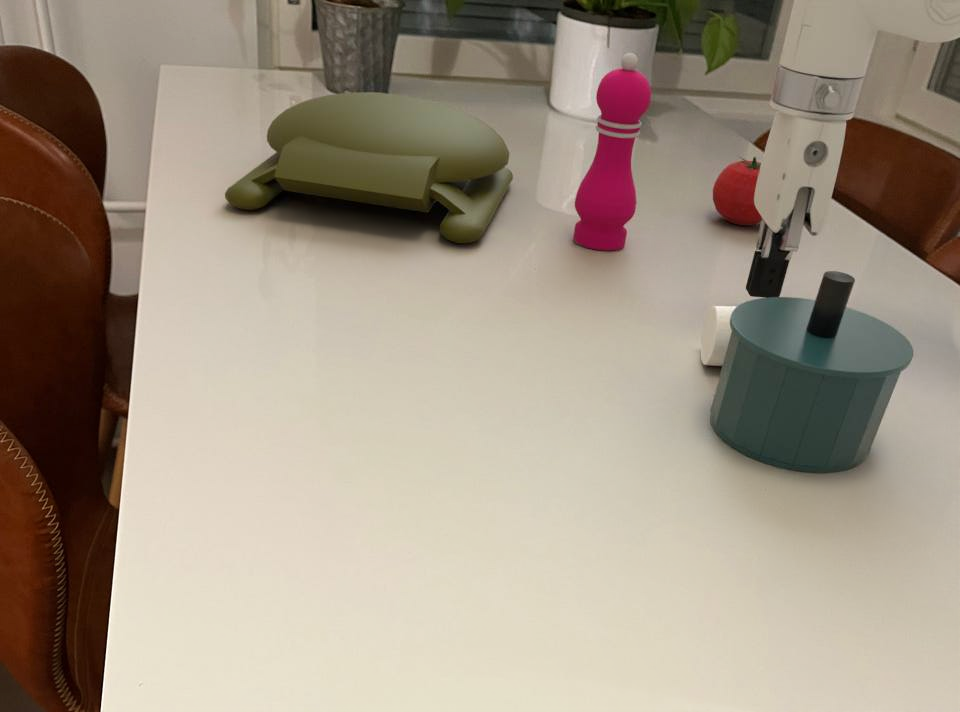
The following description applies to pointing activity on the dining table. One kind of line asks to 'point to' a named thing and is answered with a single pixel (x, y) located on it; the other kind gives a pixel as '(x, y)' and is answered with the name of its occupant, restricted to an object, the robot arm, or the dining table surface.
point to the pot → (796, 412)
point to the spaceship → (384, 158)
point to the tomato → (737, 192)
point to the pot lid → (822, 333)
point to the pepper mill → (612, 160)
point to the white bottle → (716, 335)
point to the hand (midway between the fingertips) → (762, 294)
